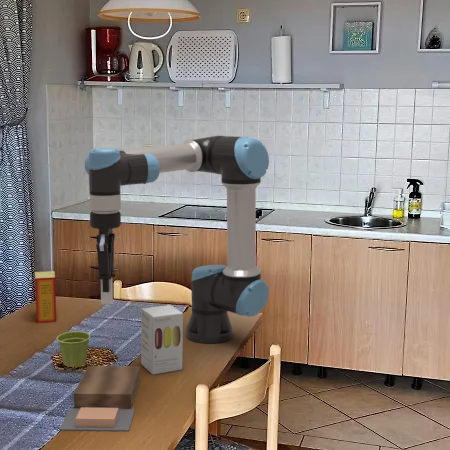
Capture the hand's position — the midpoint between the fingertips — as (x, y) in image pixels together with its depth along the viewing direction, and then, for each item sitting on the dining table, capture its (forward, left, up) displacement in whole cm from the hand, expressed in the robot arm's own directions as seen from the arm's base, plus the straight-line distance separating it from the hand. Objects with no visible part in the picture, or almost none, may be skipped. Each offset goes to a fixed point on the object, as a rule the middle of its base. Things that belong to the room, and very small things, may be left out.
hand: (107, 303), depth 175 cm
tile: (0, +16, -22) cm, 27 cm away
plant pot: (+13, -19, -25) cm, 34 cm away
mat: (0, +15, -24) cm, 29 cm away
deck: (0, 0, -24) cm, 24 cm away
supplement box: (-12, -19, -25) cm, 33 cm away
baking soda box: (+32, -62, -25) cm, 74 cm away
